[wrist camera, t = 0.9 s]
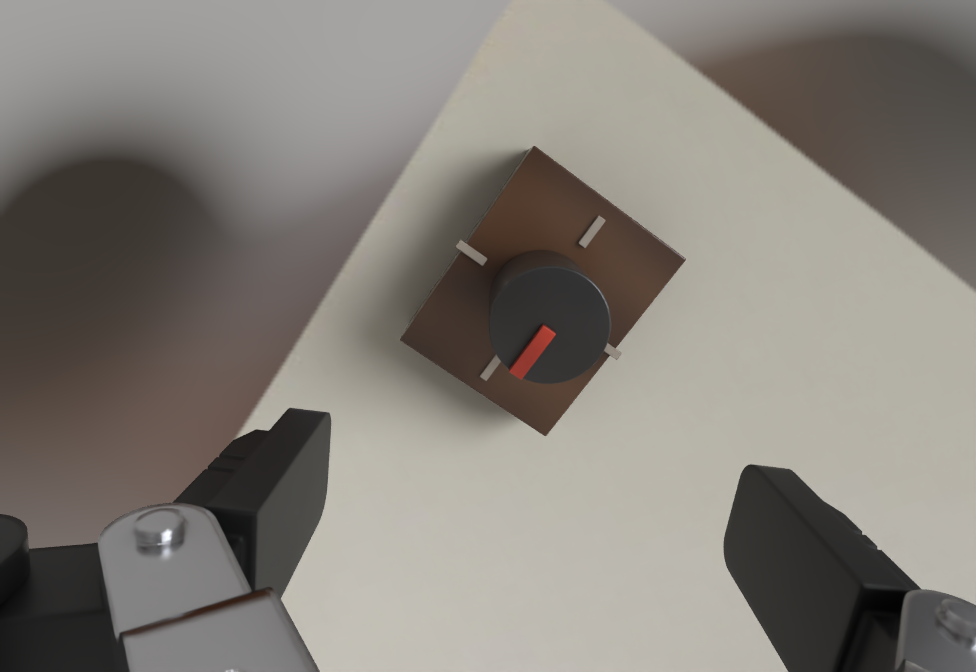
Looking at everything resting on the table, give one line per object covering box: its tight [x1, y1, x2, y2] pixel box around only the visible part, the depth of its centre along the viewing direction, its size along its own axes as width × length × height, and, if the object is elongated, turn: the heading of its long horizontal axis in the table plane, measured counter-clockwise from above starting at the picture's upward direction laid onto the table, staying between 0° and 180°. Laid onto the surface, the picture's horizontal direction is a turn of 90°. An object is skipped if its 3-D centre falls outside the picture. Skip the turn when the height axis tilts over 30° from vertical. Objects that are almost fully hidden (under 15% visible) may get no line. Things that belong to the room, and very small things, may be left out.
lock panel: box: [400, 146, 686, 436], centre depth 27 cm, size 10×9×3 cm
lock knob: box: [489, 250, 611, 384], centre depth 23 cm, size 4×4×5 cm
